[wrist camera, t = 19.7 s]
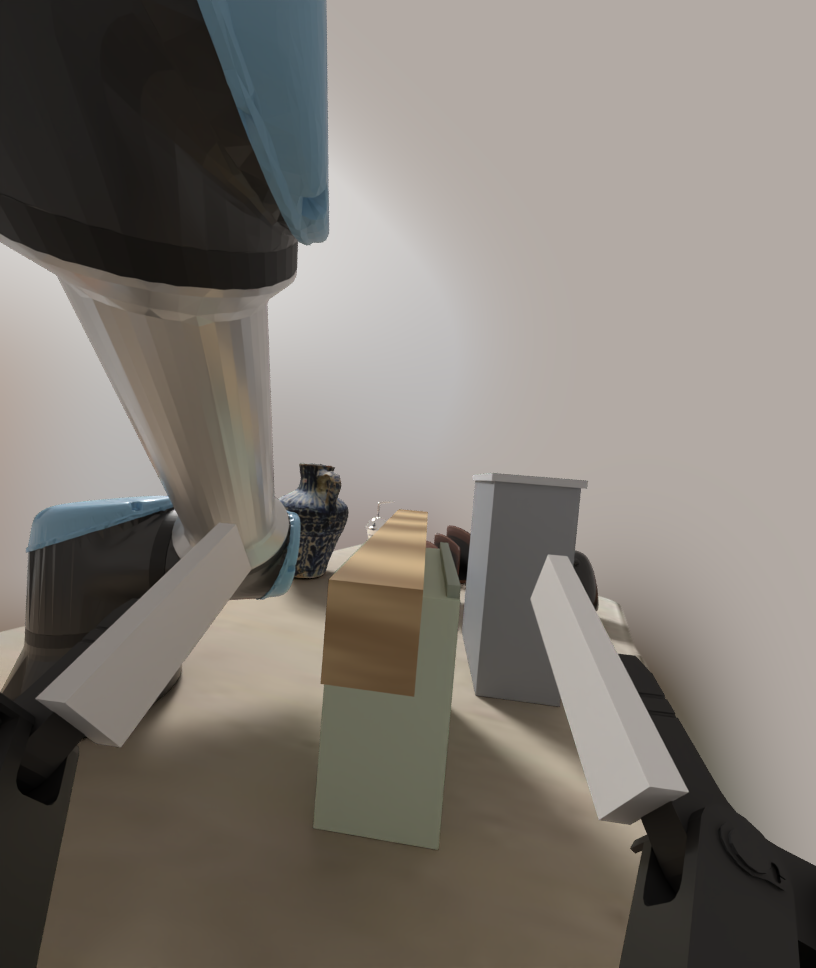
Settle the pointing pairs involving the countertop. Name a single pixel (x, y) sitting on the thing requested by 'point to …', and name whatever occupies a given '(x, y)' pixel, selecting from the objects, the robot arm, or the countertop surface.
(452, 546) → the letter holder
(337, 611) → the oak slat
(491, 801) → the countertop surface
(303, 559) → the jug
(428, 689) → the low shelf
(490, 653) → the cabinet stand
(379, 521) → the cup with straw
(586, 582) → the pump dispenser
